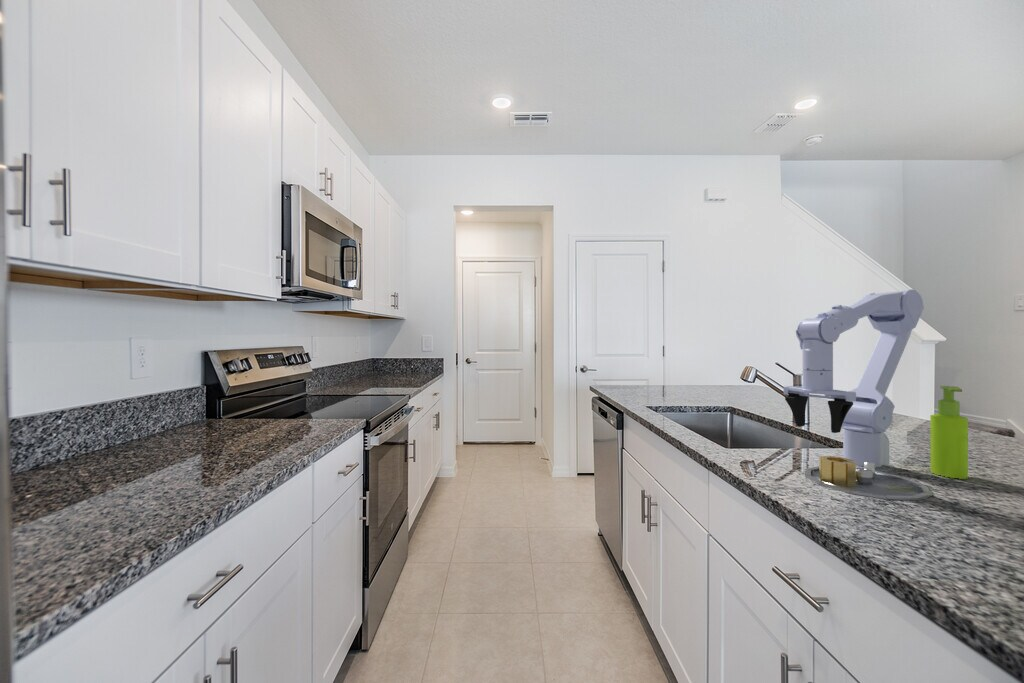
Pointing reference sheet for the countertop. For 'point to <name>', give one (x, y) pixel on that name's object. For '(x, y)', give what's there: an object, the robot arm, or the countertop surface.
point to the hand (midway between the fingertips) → (817, 429)
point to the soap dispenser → (949, 437)
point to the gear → (837, 470)
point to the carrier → (877, 484)
